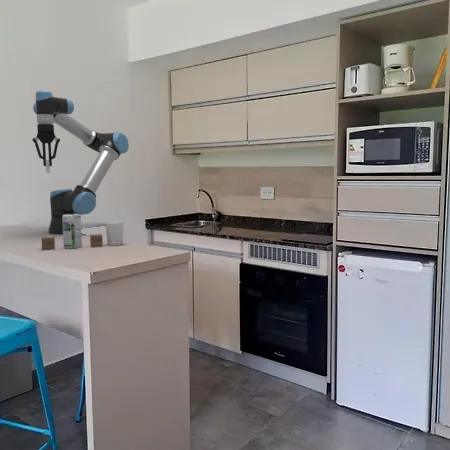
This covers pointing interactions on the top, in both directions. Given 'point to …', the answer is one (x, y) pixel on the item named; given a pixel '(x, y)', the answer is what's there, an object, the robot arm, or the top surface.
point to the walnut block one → (96, 240)
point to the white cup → (114, 233)
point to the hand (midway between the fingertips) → (48, 173)
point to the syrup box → (72, 231)
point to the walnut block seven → (48, 243)
